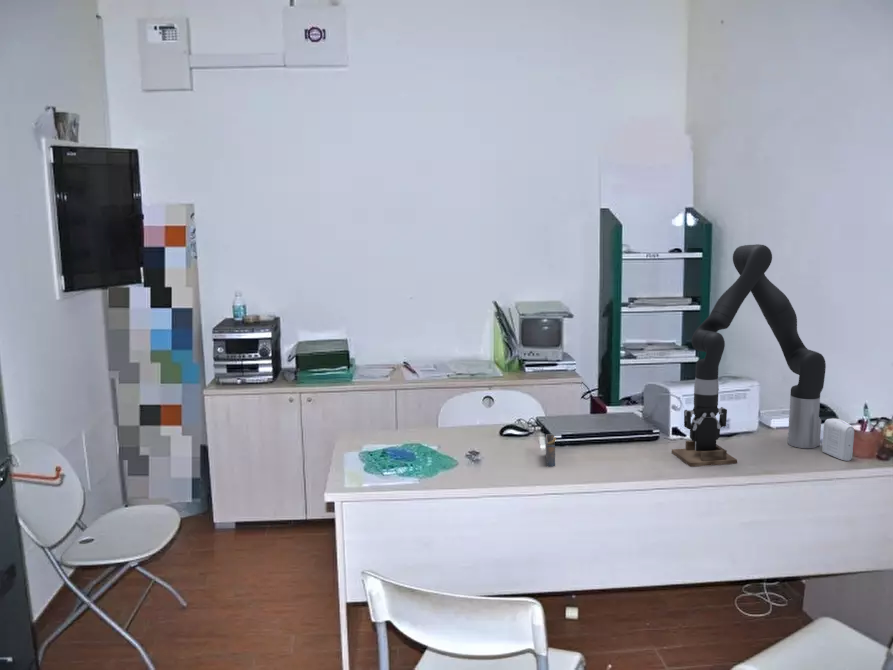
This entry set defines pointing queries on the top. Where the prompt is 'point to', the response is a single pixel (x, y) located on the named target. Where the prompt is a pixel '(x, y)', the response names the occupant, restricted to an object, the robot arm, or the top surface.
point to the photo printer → (838, 439)
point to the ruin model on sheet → (550, 450)
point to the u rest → (703, 456)
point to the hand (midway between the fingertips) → (704, 439)
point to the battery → (706, 435)
